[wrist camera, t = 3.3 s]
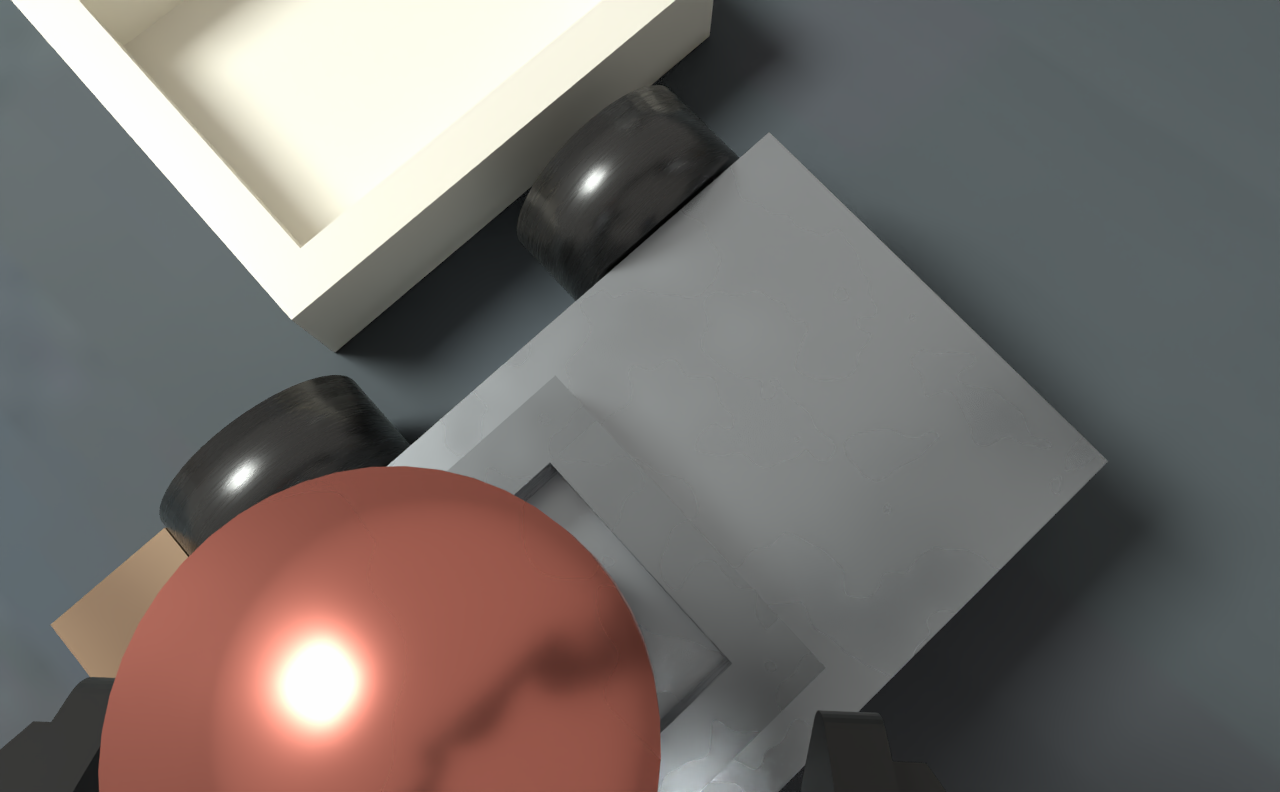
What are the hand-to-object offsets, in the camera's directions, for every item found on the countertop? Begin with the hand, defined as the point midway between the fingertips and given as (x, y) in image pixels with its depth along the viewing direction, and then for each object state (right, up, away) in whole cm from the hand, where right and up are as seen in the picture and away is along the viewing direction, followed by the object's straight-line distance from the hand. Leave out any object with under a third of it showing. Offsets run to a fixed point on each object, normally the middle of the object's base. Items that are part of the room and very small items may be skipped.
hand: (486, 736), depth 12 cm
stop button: (0, -1, +7) cm, 7 cm away
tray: (-5, +14, +14) cm, 20 cm away
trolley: (+1, +1, +12) cm, 12 cm away
